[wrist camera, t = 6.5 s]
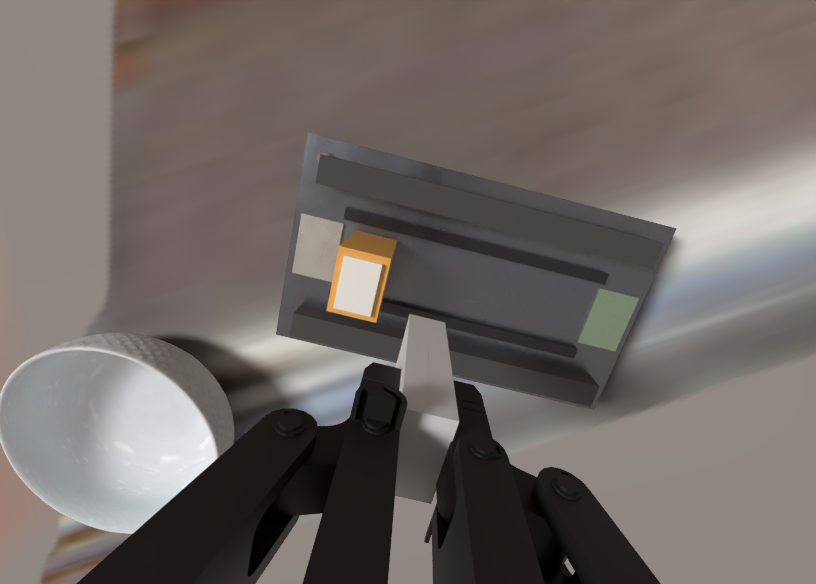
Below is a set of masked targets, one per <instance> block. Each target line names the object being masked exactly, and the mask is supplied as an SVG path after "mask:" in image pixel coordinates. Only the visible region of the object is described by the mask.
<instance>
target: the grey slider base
mask: <svg viewBox="0 0 816 584" xmlns="http://www.w3.org/2000/svg"><path fill="white" fill-rule="evenodd" d="M320 154H322V155H327V156H331V157H335V158H339V159H343V160H347V161H351V162H355V163H358V164H362V165H366V166H370V167H374V168H378V169H382V170H386V171H389V172H393V173H397V174H401V175H405V176H409V177H413V178H416V179H420V180H424V181H428V182H432V183H436V184H440V185H444V186H447V187H451V188H455V189H459V190H463V191H467V192H471V193H474V194H478V195H482V196H486V197H490V198H494V199H498V200H502V201H505V202H509V203H513V204H517V205H521V206H525V207H529V208H533V209H536V210H540V211H544V212H548V213H552V214H556V215H560V216H563V217H567V218H571V219H575V220H579V221H583V222H587V223H591V224H594V225H598V226H602V227H606V228H610V229H614V230H618V231H622V232H625V233H629V234H633V235H637V236H641V237H645V238H649V239H652V240H655V241H659V242H662V243H665V244H664V246H663V248H662V250H661V253H660V255H659V257H658V259H657V261H656V264H655V266H654V268H653V269H650V268H646V267H642V266H639V265H635V264H631V263H627V262H623V261H619V260H615V259H611V258H607V257H603V256H599V255H595V254H591V253H588V252H584V251H580V250H576V249H572V248H568V247H564V246H560V245H556V244H552V243H548V242H544V241H540V240H537V239H533V238H529V237H525V236H521V235H517V234H513V233H509V232H505V231H501V230H497V229H493V228H489V227H486V226H482V225H478V224H474V223H470V222H466V221H462V220H458V219H454V218H450V217H446V216H442V215H439V214H435V213H431V212H427V211H423V210H419V209H415V208H411V207H407V206H403V205H399V204H395V203H391V202H388V201H384V200H380V199H376V198H372V197H368V196H364V195H360V194H356V193H352V192H348V191H344V190H340V189H337V188H333V187H329V186H325V185H321V184H317V183H316V177H317V171H318V165H319V159H320ZM356 230H358V231H362V232H366V233H370V234H374V235H378V236H382V237H386V238H390V239H394V240H397V244H396V248H395V253H394V257H393V261H392V265H391V269H390V273H389V277H388V282H387V286H386V290H385V294H384V297H383V301H382V304H381V308H380V311H379V314H378V318H377V321H376V323H378V324H383V325H387V326H391V327H395V328H399V329H403V330H406V326H407V322H408V318H409V315H410V314H412V315H416V316H420V317H424V318H429V319H433V320H437V321H441V322H445V326H446V333H447V340H449V341H453V342H457V343H461V344H466V345H470V346H474V347H478V348H482V349H486V350H491V351H495V352H499V353H503V354H507V355H511V356H515V357H520V358H524V359H528V360H532V361H536V362H540V363H545V364H549V365H553V366H557V367H561V368H565V369H569V370H574V371H578V372H582V373H586V374H590V375H591V376H592V378H593V379H594V380H595V381H596V383H597V384H598V385H599V386H600V387H599V390H598V392H597V394H596V396H595V398H594V401H593V403H592V405H591V407H589V406H584V405H580V404H576V403H572V402H567V401H563V400H559V399H555V398H551V397H546V396H542V395H538V394H534V393H529V392H525V391H521V390H517V389H513V388H508V387H504V386H500V385H496V384H492V383H487V382H483V381H479V380H475V379H470V378H466V377H462V376H458V375H454V374H452V375H453V376H454V377H458V378H462V379H466V380H471V381H475V382H479V383H483V384H488V385H492V386H496V387H500V388H504V389H509V390H513V391H517V392H521V393H526V394H530V395H534V396H538V397H542V398H547V399H551V400H555V401H559V402H564V403H568V404H572V405H576V406H580V407H585V408H589V409H593V410H594V408H595V406H596V404H597V402H598V400H599V397H600V395H601V393H602V391H603V389H604V386H605V384H606V382H607V380H608V378H609V375H610V373H611V371H612V369H613V367H614V365H615V362H616V360H617V358H618V356H619V354H620V351H621V349H622V347H623V345H624V343H625V340H626V338H627V336H628V334H629V332H630V329H631V327H632V325H633V323H634V321H635V318H636V316H637V314H638V312H639V310H640V308H641V305H642V303H643V301H644V299H645V297H646V294H647V292H648V290H649V288H650V286H651V283H652V281H653V279H654V277H655V275H656V272H657V270H658V268H659V266H660V264H661V262H662V259H663V257H664V255H665V253H666V251H667V248H668V246H669V244H670V242H671V240H672V237H673V235H674V233H675V231H676V228H672V227H668V226H664V225H661V224H657V223H653V222H649V221H645V220H641V219H638V218H634V217H630V216H626V215H622V214H618V213H615V212H611V211H607V210H603V209H599V208H595V207H592V206H588V205H584V204H580V203H576V202H572V201H569V200H565V199H561V198H557V197H553V196H549V195H545V194H542V193H538V192H534V191H530V190H526V189H522V188H519V187H515V186H511V185H507V184H503V183H499V182H496V181H492V180H488V179H484V178H480V177H476V176H473V175H469V174H465V173H461V172H457V171H453V170H449V169H446V168H442V167H438V166H434V165H430V164H426V163H423V162H419V161H415V160H411V159H407V158H403V157H400V156H396V155H392V154H388V153H384V152H380V151H377V150H373V149H369V148H365V147H361V146H357V145H354V144H350V143H346V142H342V141H338V140H334V139H330V138H327V137H323V136H319V135H315V134H311V133H308V134H307V140H306V147H305V153H304V159H303V166H302V172H301V178H300V185H299V191H298V198H297V204H296V210H295V217H294V223H293V230H292V236H291V242H290V249H289V255H288V261H287V268H286V274H285V281H284V287H283V293H282V300H281V306H280V313H279V319H278V325H277V332H276V334H277V335H281V336H285V337H289V338H293V339H298V340H302V341H306V342H310V343H315V344H319V345H323V346H327V347H331V348H336V349H340V350H344V351H348V352H352V353H357V354H361V355H365V356H369V357H374V358H378V359H382V360H386V361H390V362H395V363H397V361H395V360H390V359H386V358H382V357H378V356H373V355H369V354H365V353H361V352H357V351H352V350H348V349H344V348H340V347H336V346H331V345H327V344H323V343H319V342H314V341H310V340H306V339H302V338H298V337H293V336H290V331H291V325H292V319H293V314H294V312H295V311H296V310H297V309H298V308H299V306H300V305H304V306H308V307H312V308H316V309H320V310H325V311H326V310H327V305H328V300H329V295H330V290H331V285H332V280H333V275H334V269H335V264H336V259H337V254H338V249H339V245H340V244H342V243H343V242H344V241H345V240H346V239H347V238H348V237H349V236H350V235H351V234H352V233H353V232H354V231H356Z"/></svg>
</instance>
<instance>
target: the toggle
mask: <svg viewBox="0 0 816 584" xmlns="http://www.w3.org/2000/svg"><path fill="white" fill-rule="evenodd" d="M396 244H397V240H394V239H390V238H386V237H382V236H378V235H374V234H370V233H366V232H362V231H358V230H356V231H354V232H353V233H352V234H351V235H350V236H349V237H348V238H347V239H346V240H345V241H344V242H343V243H342V244H340V245H339V249H338V254H337V259H336V264H335V269H334V275H333V280H332V285H331V290H330V295H329V300H328V305H327V310H326V311H329V312H333V313H337V314H341V315H345V316H349V317H354V318H358V319H362V320H366V321H370V322H374V323H376V321H377V318H378V314H379V311H380V308H381V304H382V301H383V297H384V294H385V290H386V286H387V282H388V277H389V273H390V269H391V265H392V261H393V257H394V253H395V248H396Z"/></svg>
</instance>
